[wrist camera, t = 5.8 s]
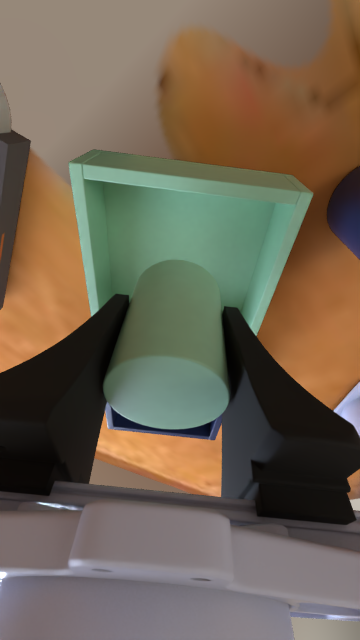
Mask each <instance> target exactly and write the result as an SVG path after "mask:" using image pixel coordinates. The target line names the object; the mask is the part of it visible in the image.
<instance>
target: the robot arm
mask: <svg viewBox="0 0 360 640" xmlns="http://www.w3.org/2000/svg"><path fill="white" fill-rule="evenodd" d="M128 306H129V295H124V294H115V295H113V296H112V297H111V298H110V299H109V300H108V301H107V302H106V303H105V304H104V305H103V306H102V307H101V308H100V309H99V310H98V311H97V312H96V313H95V314H94V315H93V316H92V317H91V318H89V319H88V320H87V321H86V322H85V323H84V324H82V325H81V326H80V327H79V328H77V329H76V330H75V331H74V332H72V333H71V334H70V335H68V336H67V337H66V338H64V339H63V340H61V341H60V342H58V343H57V344H55V345H54V346H52V347H50V348H49V349H47V350H45V351H44V352H42V353H40V354H38V355H37V356H35V357H33V358H31V359H29V360H27V361H25V362H23V363H21V364H19V365H17V366H15V367H13V368H11V369H8V370H6V371H4V372H2V373H0V640H294V634H293V628H292V623H291V617H301V618H316V619H331V620H345V621H360V511H356V510H353V508H352V506H351V503H350V500H349V498H348V495H347V493H348V492H350V489H351V488H350V486H349V483H348V480H347V478H348V477H349V476H350V475H352V474H353V473H354V472H356V471H357V470H359V469H360V382H358V384H357V385H356V386H355V387H354V388H353V389H352V390H351V391H350V393H349V394H348V395H347V396H346V397H345V398H344V399H343V400H342V402H341V403H340V404H339V405H338V406H337V407H336V408H335V409H334V411H332V410H331V409H329V408H328V407H327V406H325V405H324V404H323V403H322V402H320V401H319V400H318V399H316V398H315V397H314V396H312V395H311V394H310V393H309V392H308V391H306V390H305V389H304V388H303V387H302V386H301V385H300V384H299V383H297V382H296V381H295V380H294V379H293V378H292V377H291V376H290V375H289V374H288V373H287V372H286V371H285V370H284V369H283V368H282V367H281V366H280V365H279V364H278V363H277V362H276V361H275V360H274V359H273V357H272V356H271V355H270V354H269V353H268V351H267V350H266V349H265V348H264V346H263V345H262V344H261V342H260V341H259V340H258V338H257V337H256V335H255V334H254V333H253V331H252V330H251V328H250V327H249V325H248V323H247V322H246V320H245V319H244V317H243V315H242V314H241V312H240V311H239V309H238V308H236V307H228V306H224V309H223V313H222V318H223V327H224V337H225V347H226V357H227V366H228V376H229V386H230V401H229V404H228V406H227V408H226V410H225V411H224V412H223V413H222V487H221V497H214V496H204V495H194V494H184V493H174V492H163V491H153V490H144V489H134V488H133V489H132V488H123V487H113V486H104V485H93V484H89V481H90V476H91V471H92V466H93V461H94V456H95V452H96V447H97V442H98V438H99V433H100V429H101V425H102V421H103V416H104V412H105V408H106V404H107V400H106V398H105V396H104V392H103V382H104V378H105V375H106V372H107V369H108V366H109V363H110V360H111V357H112V354H113V351H114V348H115V345H116V342H117V339H118V336H119V333H120V330H121V327H122V324H123V321H124V318H125V315H126V312H127V309H128Z"/></svg>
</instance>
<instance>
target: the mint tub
mask: <svg viewBox="0 0 360 640" xmlns="http://www.w3.org/2000/svg"><path fill="white" fill-rule="evenodd" d="M68 164H69V171H70V177H71V184H72V191H73V198H74V204H75V211H76V218H77V224H78V231H79V238H80V244H81V251H82V258H83V264H84V271H85V278H86V285H87V291H88V298H89V305H90V311H91V317H92V316H93V315H94V314H95V313H96V312H97V311H98V310H99V309H100V308H101V307H102V306H103V305H104V304H105V303H106V302H107V301H108V300H109V299H110V298H111V297H112V296H113V295H115V294H124V295H129V303H130V300H131V297H132V294H133V291H134V288H135V285H136V283H137V280H138V279H139V277H140V275H141V274H142V273H143V272H144V271H145V270H146V269H147V268H149V267H150V266H152V265H154V264H156V263H159V262H162V261H166V260H175V259H176V260H185V261H189V262H193V263H195V264H197V265H199V266H201V267H203V268H204V269H206V270H207V271H208V272H209V273H210V274H211V275H212V276H213V277H214V279H215V280H216V282H217V284H218V287H219V291H220V298H221V308H222V313H223V309H224V306H228V307H236V308H238V309H239V311H240V312H241V314H242V315H243V317H244V319H245V320H246V322H247V323H248V325H249V327H250V328H251V330H252V331H253V333H254V334H255V335H256V336H257V334H258V331H259V329H260V326H261V324H262V321H263V319H264V316H265V314H266V311H267V309H268V306H269V304H270V301H271V299H272V296H273V294H274V291H275V289H276V286H277V284H278V281H279V279H280V276H281V274H282V271H283V269H284V266H285V264H286V261H287V259H288V256H289V254H290V251H291V249H292V246H293V244H294V241H295V239H296V236H297V234H298V231H299V229H300V226H301V224H302V221H303V219H304V216H305V214H306V211H307V209H308V206H309V204H310V201H311V199H312V197H313V193H312V192H311V191H310V190H309V189H308V188H307V187H305V186H304V185H303V184H302V183H301V182H300V181H299V180H297V179H296V178H295V177H294V176H293V175H289V174H281V173H273V172H265V171H258V170H250V169H242V168H234V167H226V166H219V165H211V164H203V163H195V162H188V161H180V160H172V159H164V158H156V157H148V156H141V155H133V154H125V153H117V152H110V151H102V150H91V151H89V152H87V153H86V154H84V155H82V156H80V157H78V158H76V159H74V160H72V161H70V162H69V163H68Z"/></svg>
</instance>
